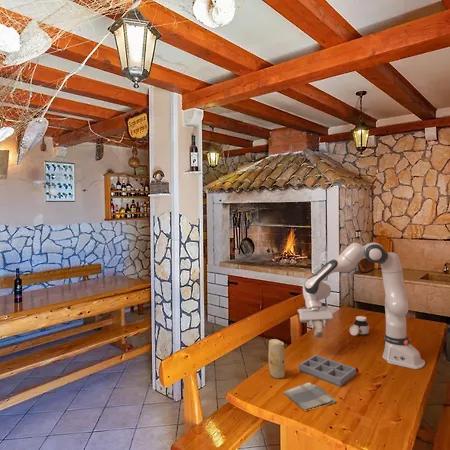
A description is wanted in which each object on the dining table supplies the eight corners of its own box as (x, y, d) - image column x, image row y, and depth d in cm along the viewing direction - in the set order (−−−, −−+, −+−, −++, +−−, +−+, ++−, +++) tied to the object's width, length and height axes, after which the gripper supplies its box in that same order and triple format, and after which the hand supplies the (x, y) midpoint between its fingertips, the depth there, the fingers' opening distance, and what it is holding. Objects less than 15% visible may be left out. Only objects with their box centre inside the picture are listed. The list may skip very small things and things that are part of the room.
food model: (287, 376, 196) (287, 340, 195) (281, 381, 191) (281, 344, 189) (271, 371, 202) (271, 336, 200) (265, 376, 196) (265, 340, 195)
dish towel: (305, 413, 162) (305, 407, 162) (283, 394, 179) (283, 388, 178) (337, 403, 170) (337, 397, 170) (314, 386, 186) (314, 380, 186)
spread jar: (369, 333, 255) (369, 317, 254) (366, 338, 246) (366, 321, 245) (352, 330, 262) (352, 314, 261) (348, 335, 252) (348, 319, 251)
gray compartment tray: (355, 375, 196) (355, 368, 195) (340, 386, 184) (340, 379, 183) (315, 361, 213) (315, 354, 213) (299, 370, 202) (299, 364, 201)
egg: (324, 336, 217) (324, 320, 217) (319, 338, 214) (319, 322, 213) (317, 334, 221) (317, 318, 220) (312, 336, 217) (312, 320, 217)
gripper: (298, 305, 222) (302, 326, 213) (330, 303, 224) (336, 324, 215) (296, 310, 227) (300, 331, 218) (327, 308, 229) (333, 329, 219)
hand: (318, 327), depth 216 cm, fingers closed on egg, 5 cm apart
